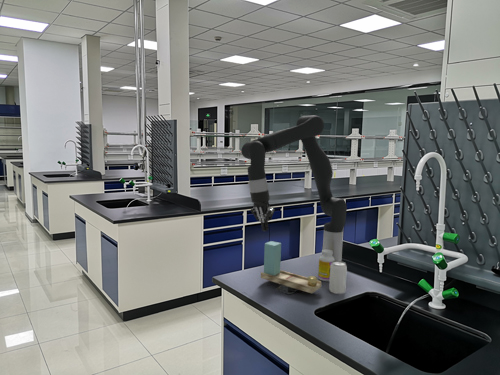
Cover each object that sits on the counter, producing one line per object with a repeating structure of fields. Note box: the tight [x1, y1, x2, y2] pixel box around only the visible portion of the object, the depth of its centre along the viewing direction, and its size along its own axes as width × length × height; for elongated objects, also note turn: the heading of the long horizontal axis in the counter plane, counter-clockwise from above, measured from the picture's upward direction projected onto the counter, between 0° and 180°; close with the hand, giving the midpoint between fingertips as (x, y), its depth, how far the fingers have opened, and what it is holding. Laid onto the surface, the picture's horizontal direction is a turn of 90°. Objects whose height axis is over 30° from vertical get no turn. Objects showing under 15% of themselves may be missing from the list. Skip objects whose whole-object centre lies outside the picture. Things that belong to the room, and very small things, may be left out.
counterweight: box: [307, 275, 318, 287], centre depth 142 cm, size 4×4×3 cm
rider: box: [263, 240, 282, 276], centre depth 153 cm, size 5×5×13 cm
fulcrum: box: [275, 284, 299, 296], centre depth 149 cm, size 7×11×2 cm, turn 143°
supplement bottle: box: [317, 249, 335, 282], centre depth 159 cm, size 7×7×13 cm
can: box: [328, 260, 348, 295], centre depth 146 cm, size 6×6×12 cm
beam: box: [260, 269, 322, 294], centre depth 149 cm, size 24×8×2 cm, turn 53°
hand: (265, 230), depth 151 cm, fingers closed
